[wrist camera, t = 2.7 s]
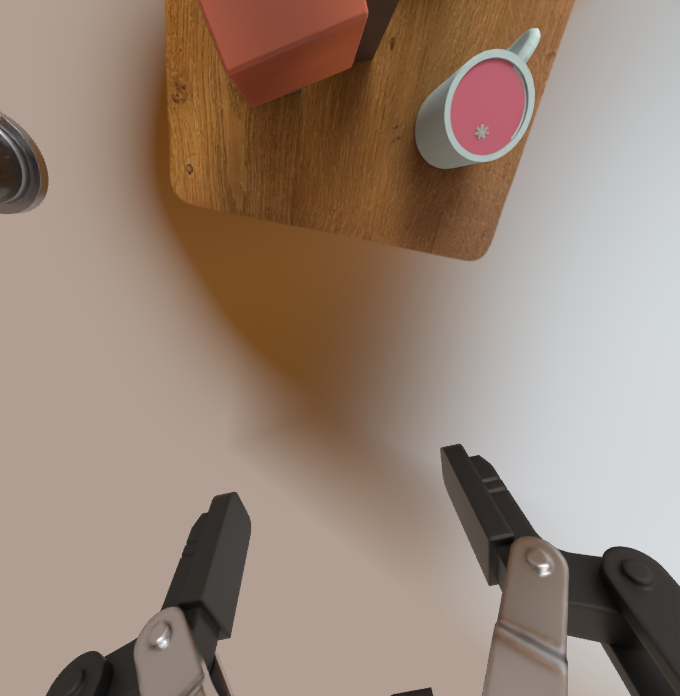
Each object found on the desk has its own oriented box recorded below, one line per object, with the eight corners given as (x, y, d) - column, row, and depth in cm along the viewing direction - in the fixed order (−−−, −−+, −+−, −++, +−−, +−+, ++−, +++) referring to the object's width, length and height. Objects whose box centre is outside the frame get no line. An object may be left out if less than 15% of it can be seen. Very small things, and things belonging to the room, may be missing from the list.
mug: (450, 184, 44) (486, 181, 35) (400, 136, 41) (425, 119, 32) (526, 83, 39) (590, 50, 30) (476, 22, 36) (530, -34, 27)
